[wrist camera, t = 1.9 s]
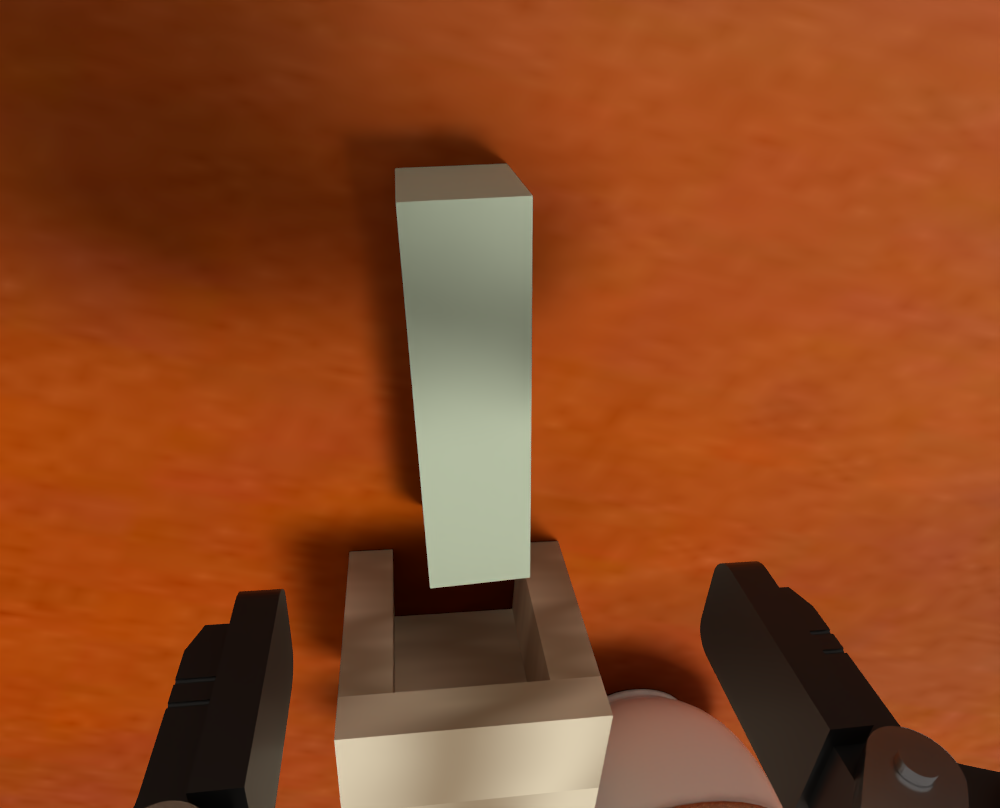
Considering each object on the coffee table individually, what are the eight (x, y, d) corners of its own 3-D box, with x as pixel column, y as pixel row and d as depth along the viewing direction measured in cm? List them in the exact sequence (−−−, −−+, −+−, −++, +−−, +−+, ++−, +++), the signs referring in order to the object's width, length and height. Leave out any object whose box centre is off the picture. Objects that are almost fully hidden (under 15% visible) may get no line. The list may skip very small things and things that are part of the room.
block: (557, 541, 27) (613, 715, 20) (544, 648, 30) (589, 832, 23) (349, 551, 26) (334, 740, 19) (357, 662, 29) (346, 860, 22)
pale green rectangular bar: (505, 162, 20) (532, 195, 16) (509, 495, 26) (529, 577, 22) (394, 167, 20) (395, 202, 16) (424, 503, 25) (430, 588, 22)
